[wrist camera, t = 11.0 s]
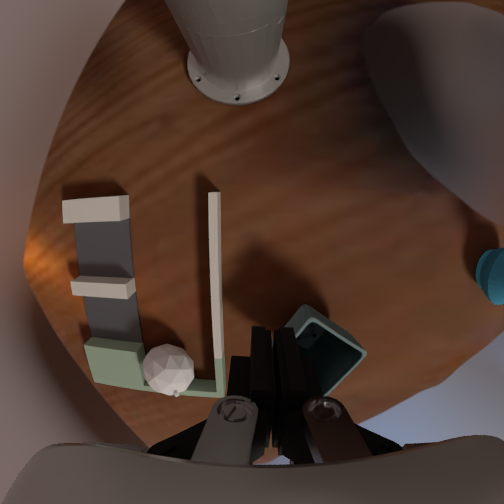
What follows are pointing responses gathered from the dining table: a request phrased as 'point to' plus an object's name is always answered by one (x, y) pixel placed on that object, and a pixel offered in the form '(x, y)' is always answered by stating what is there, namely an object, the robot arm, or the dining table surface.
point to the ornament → (168, 369)
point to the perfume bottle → (492, 275)
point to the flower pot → (325, 346)
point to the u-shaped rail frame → (129, 293)
